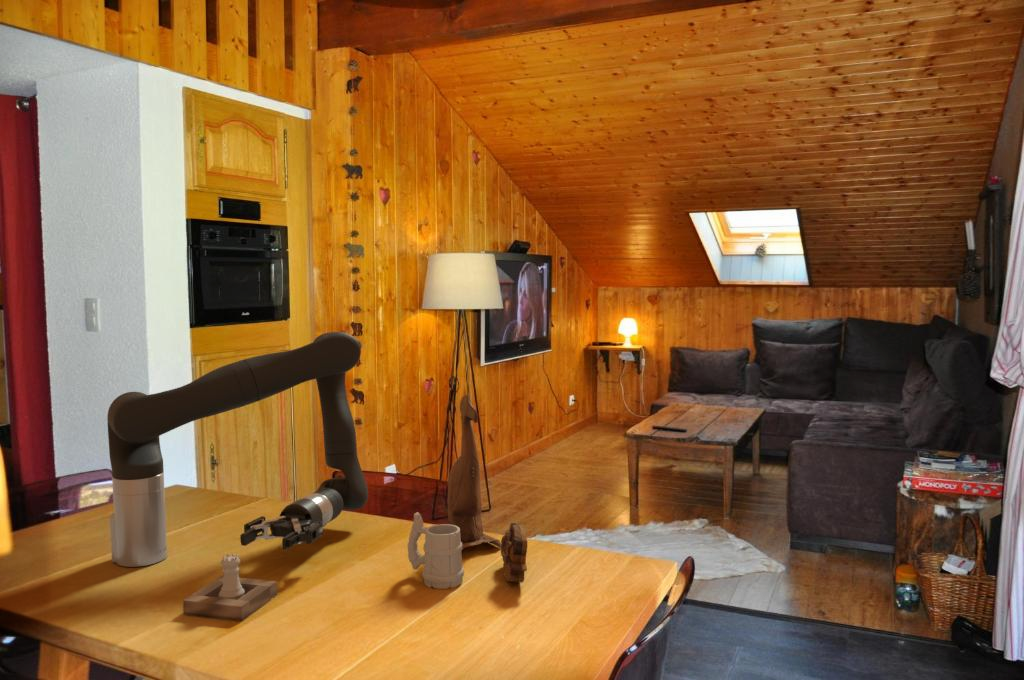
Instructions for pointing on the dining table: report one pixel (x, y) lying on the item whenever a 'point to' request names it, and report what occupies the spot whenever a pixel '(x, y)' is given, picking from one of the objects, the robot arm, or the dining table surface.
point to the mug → (437, 553)
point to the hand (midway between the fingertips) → (263, 542)
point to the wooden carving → (514, 553)
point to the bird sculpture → (467, 484)
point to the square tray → (230, 600)
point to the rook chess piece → (231, 578)
